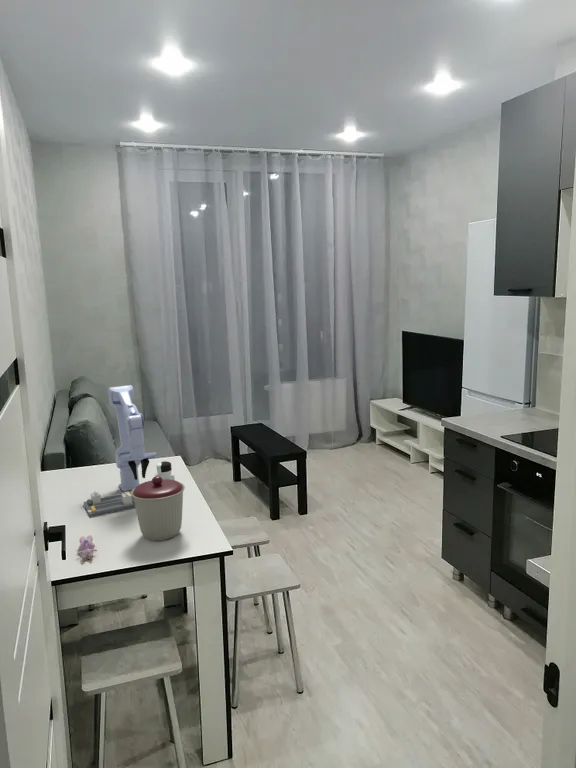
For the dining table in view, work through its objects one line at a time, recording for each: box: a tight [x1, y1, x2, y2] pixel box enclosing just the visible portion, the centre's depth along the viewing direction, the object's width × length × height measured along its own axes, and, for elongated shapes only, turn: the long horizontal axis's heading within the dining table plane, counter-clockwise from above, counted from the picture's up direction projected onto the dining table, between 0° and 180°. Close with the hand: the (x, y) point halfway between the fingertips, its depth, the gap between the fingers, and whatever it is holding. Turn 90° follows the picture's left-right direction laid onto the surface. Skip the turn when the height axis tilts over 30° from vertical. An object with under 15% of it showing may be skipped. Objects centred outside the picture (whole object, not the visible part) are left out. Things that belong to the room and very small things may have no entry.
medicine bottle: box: [154, 460, 176, 481], centre depth 247 cm, size 7×7×12 cm
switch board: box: [83, 491, 136, 518], centre depth 232 cm, size 15×20×2 cm
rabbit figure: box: [76, 534, 98, 564], centre depth 192 cm, size 6×6×15 cm
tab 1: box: [90, 491, 102, 504], centre depth 233 cm, size 4×3×4 cm
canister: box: [130, 475, 186, 541], centre depth 202 cm, size 18×18×21 cm
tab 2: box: [120, 491, 132, 505], centre depth 231 cm, size 4×3×4 cm
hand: (139, 478), depth 232 cm, fingers open, 2 cm apart
